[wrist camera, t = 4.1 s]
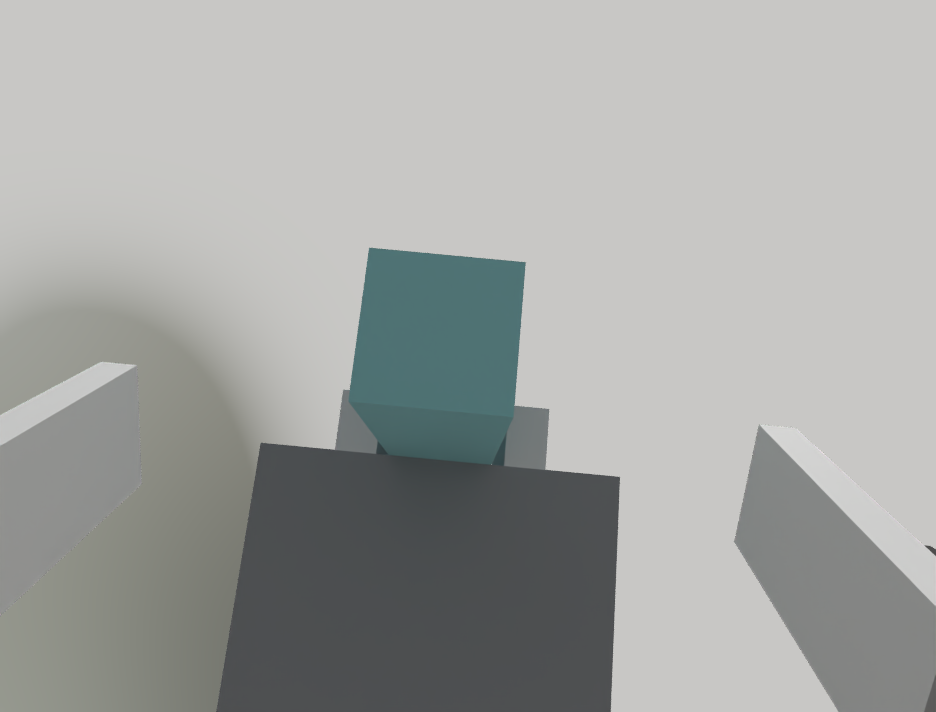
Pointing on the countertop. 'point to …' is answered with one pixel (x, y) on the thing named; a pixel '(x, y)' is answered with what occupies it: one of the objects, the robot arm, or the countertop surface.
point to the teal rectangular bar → (438, 353)
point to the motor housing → (423, 581)
